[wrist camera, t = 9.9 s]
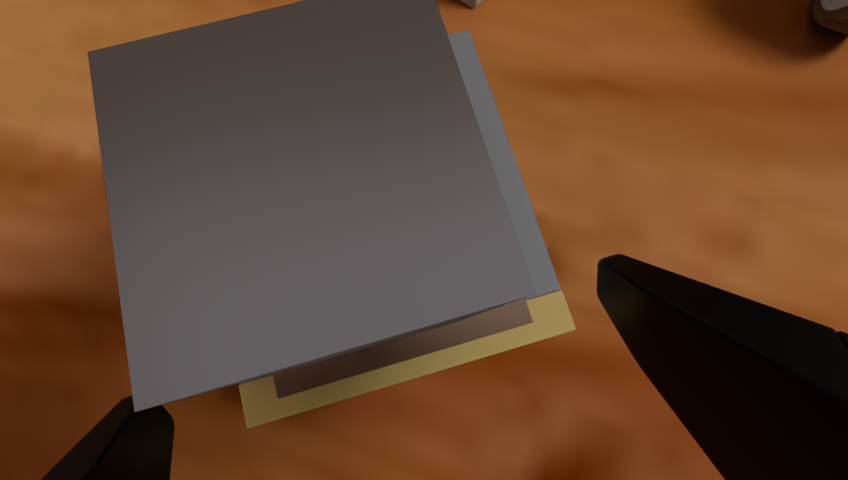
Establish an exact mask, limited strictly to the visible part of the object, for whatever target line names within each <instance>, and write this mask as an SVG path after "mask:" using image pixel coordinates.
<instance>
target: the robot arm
mask: <svg viewBox="0 0 848 480" xmlns="http://www.w3.org/2000/svg"><path fill="white" fill-rule="evenodd" d="M597 294H598V298H599V300H600V302H601V304H602V305H603V307H604V309H605V310H606V312H607V314H608V315H609V317H610V319H611V320H612V322H613V324H614V325H615V327H616V329H617V330H618V332H619V334H620V335H621V337H622V339H623V340H624V342H625V344H626V345H627V347H628V349H629V350H630V352H631V354H632V355H633V357H634V358H635V360H636V362H637V363H638V365H639V366H640V367H641V369H642V370H643V372H644V373H645V374H646V376H647V377H648V378H649V380H650V381H651V382H652V384H653V385H654V386H655V388H656V389H657V390H658V392H659V393H660V394H661V396H662V397H663V398H664V399H665V401H666V402H667V403H668V405H669V406H670V407H671V409H672V410H673V411H674V413H675V414H676V415H677V417H678V418H679V419H680V421H681V422H682V423H683V425H684V426H685V427H686V429H687V430H688V431H689V433H690V434H691V435H692V437H693V438H694V439H695V441H696V442H697V443H698V444H699V446H700V447H701V448H702V450H703V451H704V452H705V454H706V455H707V456H708V458H709V459H710V460H711V462H712V463H713V464H714V466H715V467H716V468H717V470H718V471H719V472H720V474H721V475H722V476H723V478H724V479H725V480H848V334H847V333H844V332H841V331H838V332H836V331H835V330H834V329H832V328H830V327H827V326H824V325H821V324H818V323H816V322H813V321H810V320H807V319H804V318H801V317H798V316H796V315H793V314H790V313H787V312H784V311H781V310H779V309H776V308H773V307H770V306H767V305H764V304H761V303H759V302H756V301H753V300H750V299H747V298H744V297H742V296H739V295H736V294H733V293H730V292H727V291H725V290H722V289H719V288H716V287H713V286H710V285H707V284H705V283H702V282H699V281H696V280H693V279H690V278H688V277H685V276H682V275H679V274H676V273H673V272H670V271H668V270H665V269H662V268H659V267H656V266H653V265H651V264H648V263H645V262H642V261H639V260H636V259H633V258H631V257H628V256H625V255H622V254H616V255H612V256H609V257H605V258H602V259H601V260H600V261H599V263H598V271H597ZM173 439H174V421H173V419H172V416H171V415H170V414H169V413H168V412H167V410H166V409H165V408H164V407H163V406H162V405H159V406H155V407H152V408H148V409H144V410H141V411H137V412H134V404H133V397H132V396H129V397H126V398H124V399H122V400H121V401H120V402H119V403H118V404H117V405H116V406H115V407H114V408H113V409H112V410H111V411H110V412H109V413H108V414H107V415H106V416H105V417H104V418H103V419H102V420H101V421H100V422H99V423H98V424H97V425H96V426H95V427H94V428H93V429H92V430H91V431H90V432H88V433H87V434H86V435H85V436H84V437H83V438H82V439H81V440H80V441H79V442H78V443H77V444H76V445H75V446H74V447H73V448H72V449H71V450H70V451H69V452H68V453H67V454H66V455H65V456H64V457H63V458H62V459H61V460H60V461H59V462H58V463H57V464H56V465H55V466H54V467H53V468H52V469H51V470H50V471H49V472H48V473H47V474H46V475H45V476H44V477H43V478H42V479H41V480H169V479H170V469H171V459H172V449H173Z"/></svg>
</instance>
